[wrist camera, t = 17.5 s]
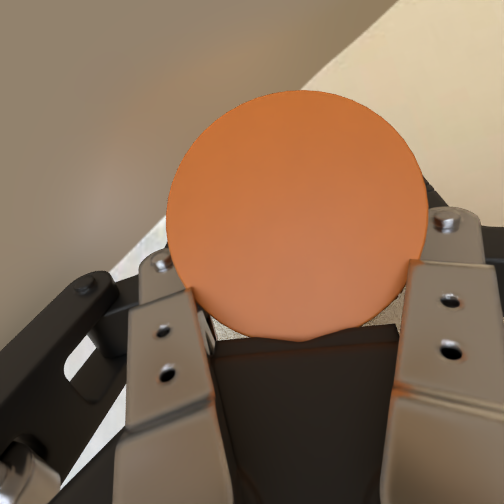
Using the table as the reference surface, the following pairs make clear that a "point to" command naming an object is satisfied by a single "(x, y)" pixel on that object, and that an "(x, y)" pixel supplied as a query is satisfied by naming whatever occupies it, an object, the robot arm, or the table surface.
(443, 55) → the table surface
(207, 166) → the grooved orange cylinder
